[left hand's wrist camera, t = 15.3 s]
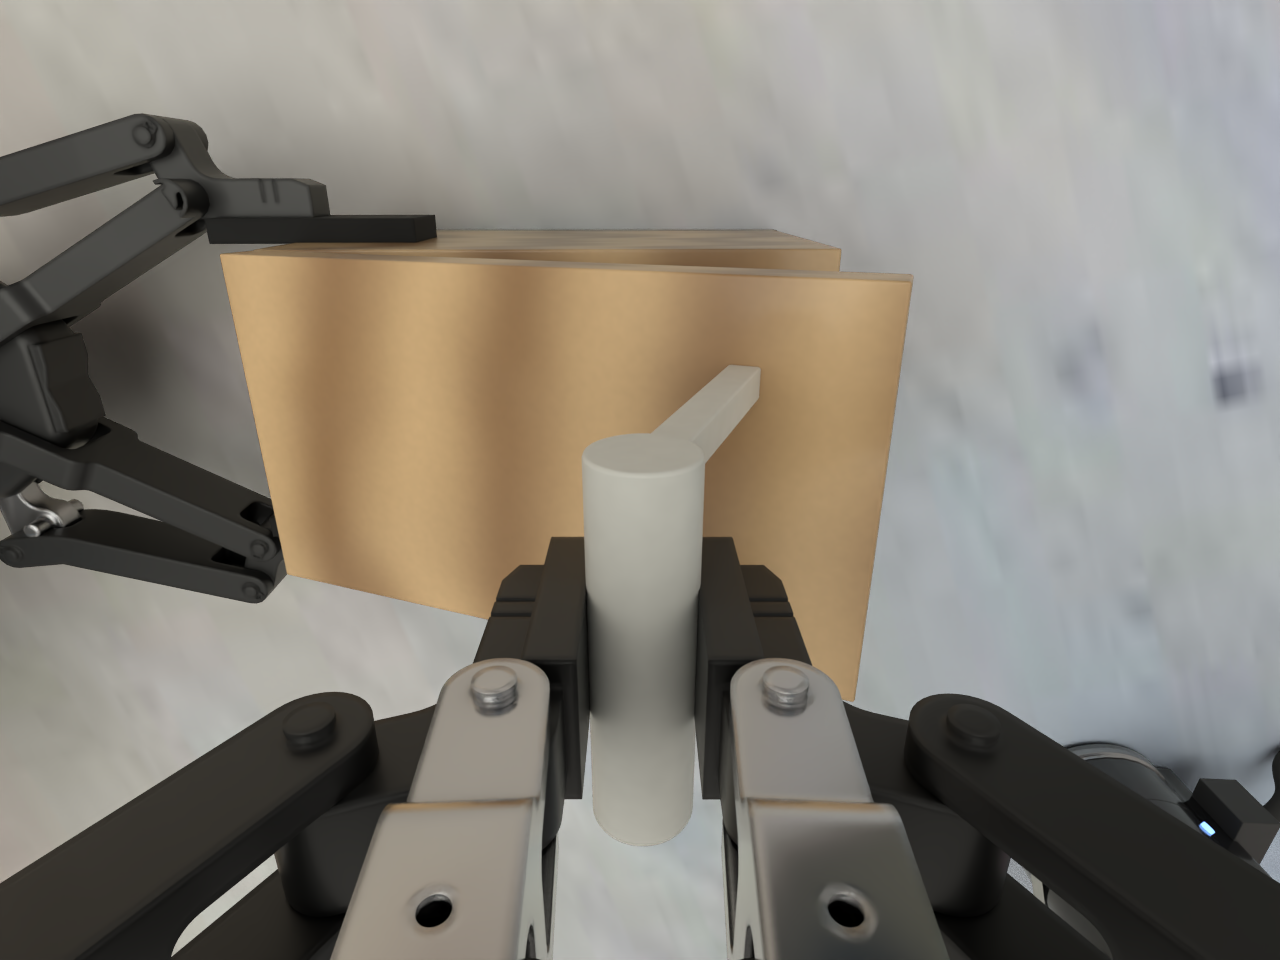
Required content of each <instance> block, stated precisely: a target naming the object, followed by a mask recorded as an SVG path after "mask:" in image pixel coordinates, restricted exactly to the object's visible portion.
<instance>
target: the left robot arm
mask: <svg viewBox="0 0 1280 960" xmlns="http://www.w3.org/2000/svg"><path fill="white" fill-rule="evenodd" d="M589 719H590V688H589V657H588V626H587V595H586V577H585V547H584V537H551V539H550V543H549V547H548V551H547V555H546V559H545V563H544V565H519V566H518V567H517V568H516V569H515V570H513V571H512V572H511V573H510V574H509V575H508V576H506V577H505V578H504V579H503V580H502V582H501V585H500V588H499V591H498V594H497V597H496V602H494V605H493V608H492V611H491V617H489V619H488V622H487V625H486V628H485V631H484V634H483V636H482V639H481V642H480V645H479V648H478V651H477V653H476V656H475V659H474V662H473V664H471V665H469V666H467V667H465V668H463V669H461V670H459V671H458V672H456V673H455V674H454V675H452V676H451V677H450V678H449V679H448V680H447V681H446V683H445V684H444V686H443V687H442V690H441V692H440V695H439V698H438V701H437V704H435V705H433V706H431V707H428V708H425V709H423V710H420V711H416V712H412V713H408V714H404V715H399V716H395V717H390V718H386V719H381V720H377V721H374V718H373V712H372V709H371V707H370V705H369V704H368V703H367V702H366V701H365V700H364V699H362V698H360V697H358V696H356V695H353V694H349V693H344V692H325V693H318V694H313V695H309V696H305V697H302V698H299V699H296V700H293V701H291V702H289V703H287V704H284V705H283V706H281V707H279V708H277V709H276V710H274V711H272V712H271V713H269V714H268V715H266V716H264V717H263V718H261V719H260V720H258V721H257V722H255V723H253V724H252V725H250V726H249V727H247V728H245V729H244V730H242V731H241V732H239V733H238V734H236V735H234V736H233V737H231V738H230V739H228V740H226V741H225V742H223V743H222V744H220V745H219V746H217V747H215V748H214V749H212V750H211V751H209V752H207V753H206V754H204V755H203V756H201V757H200V758H198V759H196V760H195V761H193V762H192V763H190V764H188V765H187V766H185V767H184V768H182V769H181V770H179V771H177V772H176V773H174V774H173V775H171V776H169V777H168V778H166V779H165V780H163V781H162V782H160V783H158V784H157V785H155V786H154V787H152V788H150V789H149V790H147V791H146V792H144V793H143V794H141V795H139V796H138V797H136V798H135V799H133V800H132V801H130V802H128V803H127V804H125V805H124V806H122V807H120V808H119V809H117V810H116V811H114V812H113V813H111V814H109V815H108V816H106V817H105V818H103V819H101V820H100V821H98V822H97V823H95V824H94V825H92V826H90V827H89V828H87V829H86V830H84V831H82V832H81V833H79V834H78V835H76V836H75V837H73V838H71V839H70V840H68V841H67V842H65V843H63V844H62V845H60V846H59V847H57V848H56V849H54V850H52V851H51V852H49V853H48V854H46V855H44V856H43V857H41V858H40V859H38V860H37V861H35V862H33V863H32V864H30V865H29V866H27V867H25V868H24V869H22V870H21V871H19V872H18V873H16V874H14V875H13V876H11V877H10V878H8V879H6V880H5V881H3V882H2V883H0V960H553V943H554V925H555V907H556V889H557V870H558V852H559V843H558V830H559V828H560V825H561V821H562V814H563V805H564V799H582V794H583V783H584V772H585V762H586V751H587V740H588V730H589ZM694 720H695V729H696V739H697V749H698V759H699V769H700V779H701V789H702V798H703V799H721V806H722V814H723V825H722V843H721V852H722V870H723V888H724V907H725V925H726V943H727V960H1280V883H1278V882H1277V881H1275V880H1274V879H1272V878H1271V877H1270V876H1269V875H1268V873H1267V872H1266V871H1265V870H1264V869H1263V868H1262V867H1261V866H1260V865H1259V864H1260V863H1261V861H1262V859H1263V857H1264V855H1265V854H1266V852H1267V850H1268V848H1269V846H1270V844H1271V843H1272V841H1273V839H1274V837H1275V835H1276V833H1277V832H1278V830H1279V828H1280V751H1279V752H1278V753H1277V754H1276V756H1275V758H1274V760H1273V764H1272V772H1273V778H1274V782H1275V793H1274V794H1273V796H1272V798H1271V799H1270V800H1269V801H1268V802H1267V803H1266V804H1265V805H1264V806H1262V805H1261V804H1260V803H1259V802H1258V801H1257V800H1256V799H1255V798H1254V797H1253V796H1252V795H1251V794H1250V793H1249V792H1248V791H1247V790H1246V789H1245V788H1244V787H1243V786H1242V785H1241V784H1239V783H1238V782H1237V781H1236V780H1225V779H1201V778H1200V779H1199V781H1198V783H1197V785H1196V788H1195V790H1194V792H1193V793H1192V792H1191V791H1190V790H1189V789H1188V788H1187V787H1186V786H1185V785H1184V784H1183V783H1182V782H1181V780H1180V779H1179V778H1178V777H1177V776H1176V775H1175V774H1174V773H1173V772H1172V771H1171V770H1170V769H1168V768H1157V767H1154V766H1153V765H1152V763H1151V762H1150V761H1149V760H1148V759H1146V758H1145V757H1144V756H1142V755H1141V754H1139V753H1138V752H1136V751H1134V750H1131V749H1128V748H1125V747H1122V746H1117V745H1110V744H1089V745H1082V746H1077V747H1072V748H1069V749H1066V748H1065V747H1063V746H1061V745H1060V744H1058V743H1057V742H1055V741H1054V740H1052V739H1050V738H1049V737H1047V736H1046V735H1044V734H1042V733H1041V732H1039V731H1038V730H1036V729H1035V728H1033V727H1031V726H1030V725H1028V724H1027V723H1025V722H1023V721H1022V720H1020V719H1019V718H1017V717H1016V716H1014V715H1012V714H1011V713H1009V712H1008V711H1006V710H1004V709H1002V708H1001V707H999V706H997V705H994V704H992V703H990V702H988V701H985V700H982V699H979V698H975V697H971V696H967V695H960V694H937V695H932V696H929V697H926V698H923V699H922V700H920V701H919V702H917V703H916V704H915V705H914V706H913V708H912V710H911V712H910V717H909V721H908V720H903V719H899V718H894V717H890V716H885V715H881V714H876V713H872V712H869V711H865V710H862V709H859V708H857V707H854V706H852V705H850V704H848V703H846V702H844V701H842V698H841V695H840V692H839V689H838V687H837V686H836V684H835V683H834V681H833V680H832V679H831V678H830V677H829V676H828V675H826V674H825V673H824V672H822V671H821V670H819V669H817V668H815V667H814V666H812V663H811V660H810V657H809V655H808V652H807V649H806V646H805V644H804V641H803V638H802V635H801V632H800V630H799V627H798V624H797V621H796V619H795V617H794V616H793V610H792V608H791V605H790V602H788V597H787V594H786V591H785V588H784V585H783V583H782V580H781V579H780V578H778V577H777V576H776V575H775V574H774V573H773V572H771V571H770V570H769V569H768V568H767V567H766V566H764V565H740V563H739V559H738V556H737V552H736V548H735V544H734V541H733V538H732V537H702V564H701V585H700V589H699V594H698V622H697V651H696V679H695V707H694ZM273 854H274V855H275V859H276V862H277V866H278V869H277V870H276V871H275V872H274V873H272V874H271V875H270V876H269V877H268V878H266V879H265V880H264V881H263V882H261V883H260V884H259V885H258V886H257V887H255V888H254V889H253V890H252V891H251V892H249V893H248V894H247V895H246V896H245V897H243V898H242V899H241V900H240V901H239V902H237V903H236V904H235V905H234V906H233V907H231V908H230V909H229V910H228V911H226V912H225V913H224V914H223V915H222V916H220V917H219V918H218V919H217V920H216V921H214V922H213V923H212V924H211V925H210V926H208V927H207V928H206V929H205V930H204V931H202V932H201V933H200V934H199V935H198V936H196V937H195V938H194V939H193V940H192V941H190V942H189V943H188V944H187V945H185V946H184V947H183V948H182V949H181V950H179V951H178V952H177V953H176V954H175V955H173V956H172V957H171V955H172V952H173V949H174V946H175V944H176V942H177V940H178V938H179V937H180V935H181V934H182V932H183V931H184V930H185V928H186V927H187V926H188V925H189V923H190V922H191V921H192V920H193V919H194V918H195V917H196V916H197V915H199V914H200V913H201V912H202V911H203V910H205V909H206V908H207V907H208V906H210V905H211V904H212V903H213V902H214V901H216V900H217V899H218V898H219V897H221V896H222V895H223V894H224V893H226V892H227V891H228V890H229V889H231V888H232V887H233V886H234V885H236V884H237V883H238V882H239V881H241V880H242V879H243V878H244V877H246V876H247V875H248V874H249V873H250V872H252V871H253V870H254V869H255V868H257V867H258V866H259V865H260V864H262V863H263V862H264V861H265V860H267V859H268V858H269V857H270V856H272V855H273ZM1010 858H1012V859H1013V860H1015V861H1016V862H1017V863H1018V864H1020V865H1021V866H1022V867H1023V869H1024V871H1025V872H1026V874H1027V876H1028V878H1029V879H1030V881H1031V883H1032V886H1033V894H1034V895H1033V894H1032V893H1031V892H1029V891H1028V890H1027V889H1026V888H1025V887H1023V886H1022V885H1021V884H1020V883H1019V882H1017V881H1016V880H1015V879H1014V878H1012V877H1011V876H1010V875H1009V874H1008V873H1007V870H1008V866H1009V862H1010Z"/></svg>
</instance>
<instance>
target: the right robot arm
mask: <svg viewBox="0 0 1280 960" xmlns="http://www.w3.org/2000/svg"><path fill="white" fill-rule="evenodd" d="M207 150H208V140H207V136H206V134H205V133H204V131H203V130H202V128H201V127H200V126H198V125H197V124H196V123H194V122H191V121H188V120H182V119H175V118H168V117H162V116H155V115H148V114H134V115H130V116H127V117H124V118H121V119H118V120H115V121H112V122H109V123H105V124H102V125H99V126H96V127H93V128H90V129H87V130H84V131H80V132H77V133H74V134H71V135H68V136H65V137H62V138H59V139H55V140H52V141H49V142H46V143H43V144H40V145H37V146H34V147H30V148H27V149H24V150H21V151H18V152H15V153H12V154H9V155H5V156H2V157H0V217H4V216H14V215H20V214H24V213H28V212H31V211H35V210H38V209H41V208H44V207H47V206H51V205H54V204H57V203H60V202H63V201H67V200H70V199H73V198H76V197H80V196H83V195H86V194H89V193H92V192H96V191H99V190H102V189H105V188H108V187H112V186H115V185H118V184H121V183H124V182H128V181H131V180H134V179H137V178H141V177H144V176H147V175H150V174H153V173H155V174H156V176H157V177H158V179H156V180H154V181H153V182H154V184H162V185H161V186H159V187H158V188H156V189H155V190H154V191H152V192H151V193H149V194H148V195H146V196H145V197H143V198H142V199H140V200H139V201H137V202H136V203H135V204H133V205H132V206H130V207H129V208H127V209H126V210H124V211H123V212H121V213H120V214H118V215H117V216H115V217H114V218H113V219H111V220H110V221H108V222H107V223H105V224H104V225H102V226H101V227H99V228H98V229H96V230H95V231H94V232H92V233H91V234H89V235H88V236H86V237H85V238H83V239H82V240H80V241H79V242H77V243H76V244H75V245H73V246H72V247H70V248H69V249H67V250H66V251H64V252H63V253H61V254H60V255H58V256H57V257H56V258H54V259H53V260H51V261H50V262H48V263H47V264H45V265H44V266H42V267H41V268H39V269H38V270H36V271H35V272H34V273H32V274H31V275H29V276H28V277H26V278H25V279H23V280H21V281H19V282H17V283H14V284H11V285H6V284H4V283H3V282H1V281H0V510H1V512H2V514H3V516H4V518H5V521H6V523H7V525H8V527H9V529H10V531H11V533H12V535H11V536H9V537H7V538H5V539H4V540H2V541H0V559H1V561H3V562H4V563H5V564H7V565H9V566H12V567H17V568H22V567H34V566H46V565H58V564H66V565H71V566H75V567H80V568H85V569H90V570H95V571H99V572H104V573H109V574H114V575H119V576H123V577H128V578H133V579H138V580H142V581H147V582H152V583H157V584H162V585H166V586H171V587H176V588H181V589H186V590H190V591H195V592H200V593H205V594H209V595H214V596H219V597H224V598H229V599H233V600H238V601H243V602H248V603H260V602H262V601H264V600H265V599H266V598H267V597H268V595H269V594H270V593H271V592H272V591H273V590H274V588H275V587H276V586H277V585H278V584H279V583H280V582H281V580H282V579H283V578H284V577H285V576H286V575H287V571H286V566H285V561H284V557H283V552H282V547H281V543H280V538H279V533H278V528H277V524H276V519H275V514H274V509H273V505H272V500H271V499H269V498H267V497H265V496H263V495H260V494H258V493H256V492H254V491H251V490H249V489H247V488H245V487H242V486H240V485H238V484H236V483H233V482H231V481H229V480H227V479H224V478H222V477H220V476H218V475H215V474H213V473H211V472H209V471H206V470H204V469H202V468H200V467H197V466H195V465H193V464H191V463H188V462H186V461H184V460H182V459H179V458H177V457H175V456H173V455H170V454H168V453H166V452H164V451H161V450H159V449H157V448H155V447H152V446H150V445H148V444H146V443H143V442H141V441H140V440H139V439H138V436H137V433H136V432H135V431H133V430H131V429H129V428H127V427H125V426H123V425H120V424H118V423H116V422H114V421H111V420H109V419H107V418H105V417H103V416H105V412H104V408H103V405H102V402H101V398H100V395H99V394H98V392H97V390H96V388H95V387H94V385H93V383H92V382H91V380H90V378H89V376H88V354H87V351H86V347H85V344H84V341H83V337H82V334H81V333H73V332H72V330H71V329H70V328H69V326H71V325H73V324H74V323H76V322H77V321H79V320H80V319H82V318H83V317H85V316H86V315H88V314H89V313H91V312H92V311H94V310H95V309H97V308H98V307H99V306H100V305H101V304H100V302H101V301H103V300H104V299H106V298H107V297H109V296H110V295H112V294H113V293H115V292H116V291H118V290H119V289H121V288H122V287H124V286H126V285H127V284H129V283H130V282H132V281H133V280H135V279H136V278H138V277H139V276H141V275H142V274H144V273H145V272H147V271H148V270H150V269H151V268H153V267H154V266H156V265H157V264H159V263H160V262H162V261H163V260H165V259H166V258H168V257H169V256H171V255H172V254H174V253H176V252H177V251H179V250H180V249H182V248H183V247H185V246H186V245H188V244H189V243H191V242H192V241H194V240H195V239H197V238H198V237H200V236H201V235H203V234H204V233H206V232H207V233H208V238H209V242H210V244H292V243H417V242H420V241H424V240H428V239H432V238H436V237H437V232H436V222H435V215H330V210H329V204H328V197H327V191H326V185H323V184H321V183H319V182H316V181H314V180H311V179H236V178H231V177H229V176H227V175H225V174H224V173H222V172H221V171H220V170H219V169H218V168H217V167H216V165H215V164H214V163H213V161H212V159H211V157H210V155H209V154H208V152H207ZM41 481H46V482H48V483H51V484H53V485H55V486H58V487H60V488H63V489H66V490H89V491H92V492H95V493H97V494H99V495H102V496H104V497H106V498H109V499H111V500H113V501H116V502H118V503H121V504H123V505H125V506H128V507H130V508H132V509H135V510H137V511H139V512H142V513H144V514H146V515H149V516H151V517H153V518H156V519H158V520H160V521H157V520H152V519H148V518H143V517H139V516H134V515H129V514H125V513H120V512H115V511H109V510H98V509H87V510H84V506H83V504H82V503H81V502H80V501H79V500H76V499H71V500H70V501H65V500H60V499H54V498H52V497H49V496H48V495H46V494H45V493H44V492H43V491H42V490H41V489H40V487H39V485H38V483H40V482H41ZM161 521H163V522H161Z"/></svg>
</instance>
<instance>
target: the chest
mask: <svg viewBox="0 0 1280 960" xmlns="http://www.w3.org/2000/svg"><path fill="white" fill-rule="evenodd" d="M436 232H437V237H436V238H432V239H428V240H424V241H420V242H417V243H292V244H286V245H280V246H274V247H268V248H262V249H256V250H264V251H291V252H318V253H346V254H373V255H400V256H427V257H455V258H482V259H509V260H536V261H564V262H591V263H618V264H645V265H673V266H700V267H727V268H754V269H782V270H809V271H836V272H839V269H840V259H841V249H839V248H836V247H832V246H828V245H825V244H821V243H818V242H814V241H811V240H807V239H803V238H800V237H796V236H793V235H789V234H786V233H782V232H778V231H777V230H774V229H587V230H436ZM256 250H253V251H256Z"/></svg>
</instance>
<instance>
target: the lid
mask: <svg viewBox="0 0 1280 960" xmlns="http://www.w3.org/2000/svg"><path fill="white" fill-rule="evenodd" d="M220 259H221V264H222V268H223V273H224V278H225V282H226V287H227V292H228V297H229V301H230V306H231V311H232V316H233V320H234V325H235V330H236V334H237V339H238V344H239V349H240V353H241V358H242V363H243V368H244V372H245V377H246V382H247V386H248V391H249V396H250V401H251V405H252V410H253V415H254V420H255V424H256V429H257V434H258V439H259V443H260V448H261V453H262V457H263V462H264V467H265V472H266V476H267V481H268V486H269V491H270V495H271V500H272V505H273V509H274V514H275V519H276V524H277V528H278V533H279V538H280V543H281V547H282V552H283V557H284V561H285V566H286V571H287V574H289V575H293V576H297V577H302V578H306V579H311V580H315V581H320V582H324V583H328V584H333V585H337V586H342V587H346V588H351V589H355V590H359V591H364V592H368V593H373V594H377V595H382V596H386V597H390V598H395V599H399V600H404V601H408V602H413V603H417V604H421V605H426V606H430V607H435V608H439V609H444V610H448V611H452V612H457V613H461V614H466V615H470V616H475V617H479V618H483V619H489V617H491V611H492V608H493V605H494V602H496V597H497V594H498V591H499V588H500V585H501V582H502V580H503V579H504V578H505V577H506V576H508V575H509V574H510V573H511V572H512V571H513V570H515V569H516V568H517V567H518V566H519V565H544V563H545V559H546V555H547V551H548V547H549V543H550V539H551V537H584V547H585V577H586V595H587V626H588V657H589V688H590V729H591V759H592V789H593V811H594V815H595V817H596V820H597V822H598V823H599V825H600V826H601V828H602V829H603V830H604V831H605V832H606V833H607V834H608V835H609V836H611V837H612V838H614V839H616V840H618V841H620V842H622V843H625V844H629V845H634V846H652V845H657V844H661V843H664V842H666V841H668V840H670V839H672V838H674V837H675V836H676V835H678V834H679V833H680V832H681V831H682V830H683V829H684V827H685V826H686V824H687V823H688V821H689V819H690V817H691V814H692V808H693V784H694V757H695V720H694V707H695V679H696V651H697V622H698V594H699V589H700V585H701V564H702V537H732V538H733V541H734V544H735V548H736V552H737V556H738V559H739V563H740V565H764V566H766V567H767V568H768V569H769V570H770V571H771V572H773V573H774V574H775V575H776V576H777V577H778V578H780V579H781V580H782V583H783V585H784V588H785V591H786V594H787V597H788V602H790V605H791V608H792V610H793V616H794V617H795V619H796V621H797V624H798V627H799V630H800V632H801V635H802V638H803V641H804V644H805V646H806V649H807V652H808V655H809V657H810V660H811V663H812V666H814V667H815V668H817V669H819V670H821V671H822V672H824V673H825V674H826V675H828V676H829V677H830V678H831V679H832V680H833V681H834V683H835V684H836V686H837V687H838V689H839V692H840V695H841V698H842V700H847V701H851V702H853V701H854V700H855V694H856V687H857V680H858V674H859V667H860V659H861V652H862V645H863V638H864V631H865V623H866V616H867V609H868V602H869V595H870V587H871V580H872V573H873V566H874V558H875V551H876V544H877V537H878V530H879V522H880V515H881V508H882V501H883V494H884V486H885V479H886V472H887V465H888V458H889V450H890V443H891V436H892V429H893V422H894V414H895V407H896V400H897V393H898V386H899V378H900V371H901V364H902V357H903V350H904V342H905V335H906V328H907V321H908V313H909V306H910V299H911V292H912V285H913V275H912V274H891V273H863V272H836V271H809V270H782V269H754V268H727V267H700V266H673V265H645V264H618V263H591V262H564V261H536V260H509V259H482V258H455V257H427V256H400V255H373V254H346V253H318V252H291V251H264V250H256V251H246V252H235V253H224V254H220Z"/></svg>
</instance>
